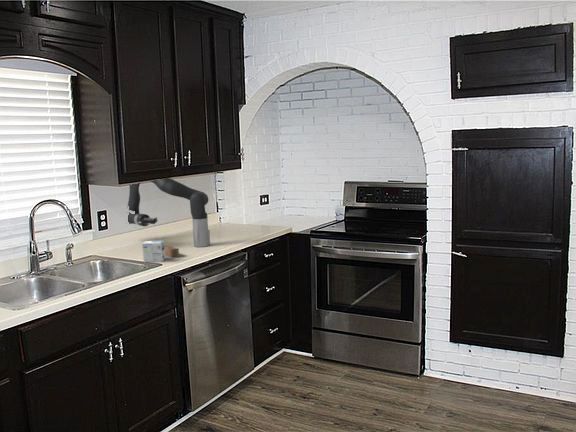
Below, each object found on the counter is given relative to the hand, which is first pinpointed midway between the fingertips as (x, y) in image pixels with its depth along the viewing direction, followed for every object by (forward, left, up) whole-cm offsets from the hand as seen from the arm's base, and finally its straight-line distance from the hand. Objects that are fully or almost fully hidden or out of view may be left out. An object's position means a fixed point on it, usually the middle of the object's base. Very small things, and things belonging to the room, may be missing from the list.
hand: (154, 222), depth 337 cm
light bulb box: (+12, +25, -18) cm, 33 cm away
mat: (0, +21, -17) cm, 27 cm away
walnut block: (0, +13, -15) cm, 20 cm away
